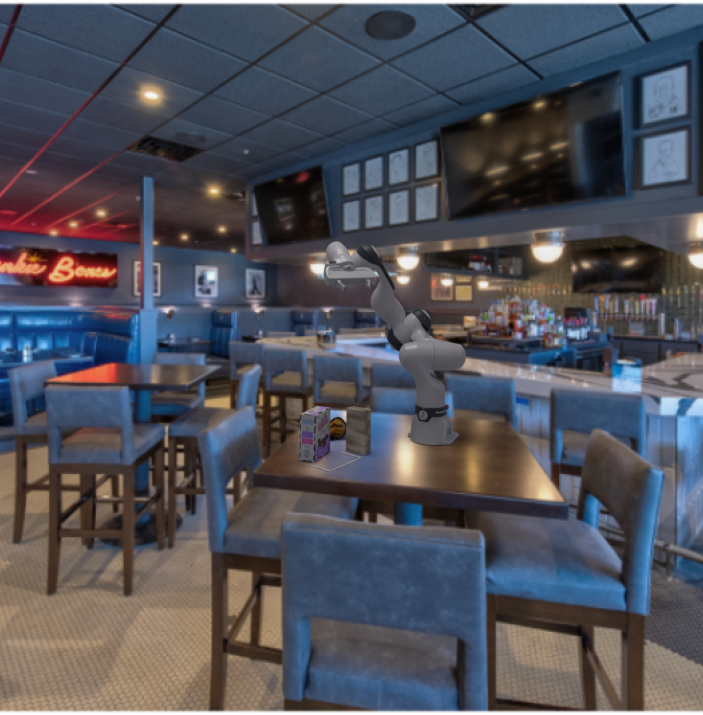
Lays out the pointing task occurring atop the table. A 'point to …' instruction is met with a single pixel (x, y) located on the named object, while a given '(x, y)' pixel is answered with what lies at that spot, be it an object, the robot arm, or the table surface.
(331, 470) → the slot outline
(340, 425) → the fried shrimp in bowl
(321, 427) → the candy box
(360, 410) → the ash tower
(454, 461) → the table surface
